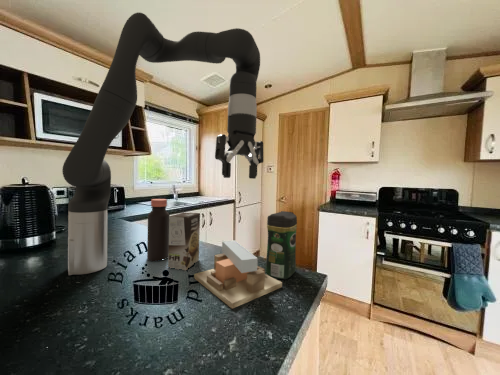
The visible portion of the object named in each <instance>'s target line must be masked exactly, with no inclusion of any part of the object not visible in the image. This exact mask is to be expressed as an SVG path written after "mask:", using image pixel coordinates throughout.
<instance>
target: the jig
mask: <svg viewBox="0 0 500 375" xmlns="http://www.w3.org/2000/svg"><path fill="white" fill-rule="evenodd" d="M213 257H214V260H213V263H214V264H213V268H211V269H208V270H204V271H201V272H197V273H194V275H193V278H194V279H195V280H196V281H197V282H199V283H200V284H201V285H202V286H203V287H204V288H206V289H207V290H208V291H210V293H212V294H213V295H214V296H215V297H217V298H218V299H220V301H222V302H223V303H225V305H226V306H228V307H229V308H230V309H231V310H233V309H235V308H237V307H239V306H242V305H244V304H247V303H249V302H251V301H254V300H256V299H258V298H261V297H262V296H264V295H267V294H269V293H272V292H274V291H276V290H279V289H281V288H282V287H283V282H282V281H281V280H279V279H276V278H272V277H270V276H269V275H267V274H266V268H264V267H261V266H259V265H257V271H252V272H249V273H247V279H245V280H242V281H239V282H236V278H234V277H233V278H230V279H227V280H224V287H223V283H222V282H220V281H219V280H217V279H216V278H215V274H216V262H217V261H221V260H225V259H229V258H228V257H227V256H226V255H225V254H224V253H223V252H222V253H219V254H215V255H214V256H213Z"/></svg>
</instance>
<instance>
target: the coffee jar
mask: <svg viewBox="0 0 500 375" xmlns="http://www.w3.org/2000/svg"><path fill="white" fill-rule="evenodd" d="M266 221H267V222H266V228H267V243H266V245H267V246H266V258H265V259H266V260H265V274H266V275H268V276H270V277H272V278H274V279H276V280H280V279H281V280H288V279H289V278H290V277H292V276H293V275H294V273H295V272H296V267H297V266H296V265H297V264H296V262H297V261H296V251H297V250H296V248H297V247H296V246H297V229H298V218H297V215H296V214H295V213H294V212H293V211H284V210H282V211H278V212H275V213H271V214H270V215H267V219H266Z"/></svg>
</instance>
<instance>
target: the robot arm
mask: <svg viewBox="0 0 500 375" xmlns="http://www.w3.org/2000/svg"><path fill="white" fill-rule="evenodd" d="M139 56H140V57H141V58H142V60H144V61H146V62H148V63H153V64H156V63H157V64H158V63H159V64H160V63H171V62H183V61H186V62H187V61H190V62H201V63H209V64H222V63H224V61H225V60H226V59H231V60H232V62H233V63H234V64H235V72H234V73H233V74H232V75H231V76H230V79H229V89H228V90H229V92H228V94H229V95H228V96H229V97H228V104H227V127H226V129H227V130H226V131H227V136H226V134H219V135H217V136H216V140H215V150H214V151H215V152H214V158H215V160H217V161H220V162H221V175H222V176H223V178H225V179H230V178H231V171H232V170H231V169H232V163H231V161H232V159H233V158H234V157H235V156H240V157H241V156H242V157H244V158H245V159H247V161H248V163H249V166H248V168H249V169H248V178H249V179H251V180H252V179H256V178H257V176H258V165H259V164H262V163H264V142H263V141H262V140H260V141H255V136H256V134H257V114H258V111H257V110H258V108H257V107H258V105H257V82H258V77H259V74H260V73H259V72H260V68H261V53H260V50H259V47H258V45H257V42H256V40H255V38H254V37H253V35H252V33H250V32H249V30H246V29H244V28H237V27H236V28H231V29H226V30H222V31H218V32H210V31H209V32H208V31H192V32H190V33H188V34H186V35H185V36H183V37H182V38H181V39H179V40H170V39H167V38H166V37H164V36H163V34H162V32H161V31H160V30H159V29H158V28H157V26H156V25H155V24H154V22H153V21H152V20H151V19H150V18H149V17H148V15H147V14H145V13H143V12H134V13H133V14H131V16H129V17H128V18H127V20H126V21H125V23H124V25H123V28H122V30H121V33H120V35H119V39H118V42H117V45H116V48H115V52H114V56H113V58H112V61H111V64H110V65H109V69H108V72H107V74H106V76H105V78H104V80H103V82H102V85H101V87H100V89H99V91H98V93H97V96H96V98H95V100H94V103H93V105H92V109H91V110H90V112H89V115H88V117H87V118H86V121H85V123H84V126H83V129H82V131H81V133H80V135H79V136H78V139H77V140H76V141H75V143H74V145H73V147H72V148H71V150H70V152H69V153H68V155H67V157H66V159H65V160H64V163H63V166H62V168H61V169H62V171H61V172H62V177H63V179H64V180H65V182H66V183H68V184H69V185H70V186H72V187H75V193H74V195H73V197H72V198H71V199H70V200H69V202H68V205H67V206H68V208H67V210H68V215H67V218H68V221H67V222H68V225H67V227H68V229H67V230H68V235H67V236H68V237H67V245H68V246H67V272H68V273H67V274H68V276H72V275H87V274H91V273H96V272H99V271H102V270H103V269H105V268H106V267H107V266H108V204H109V202H110V198H111V189H112V188H111V187H112V185H111V182H112V173H111V172H112V171H111V166H110V164H109V163H108V162H107V161H106V159H105V157H106V154H107V152H108V149H109V147H110V146H111V143H112V142H113V141H114V139H116V137H117V136H118V135H119V134H120V133H121V132H122V131H123V129H124V128H125V127H126V126H127V125H128V123H129V122H130V119H131V116H132V115H133V112H134V110H135V108H136V105H137V102H138V87H137V72H136V70H137V63H138V60H139ZM226 145H228V148H227V149H226Z"/></svg>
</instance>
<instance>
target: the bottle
mask: <svg viewBox="0 0 500 375" xmlns="http://www.w3.org/2000/svg"><path fill="white" fill-rule="evenodd" d="M150 206H151V211H150V212H149V213H148V214H147V242H146V243H147V248H146V251H147V254H146V256H147V257H146V259H147V260H148V261H149V260H150V261H149V262H159V261H158V260H162V259H165V258H167V257H168V253H169V219H170V217H169V216H171V215H170V213H169V211H167V206H168V199H167V198H151V199H150ZM167 259H168V258H167ZM165 260H166V259H165ZM162 261H163V260H162Z"/></svg>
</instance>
